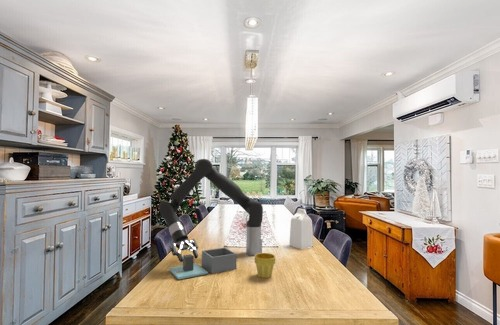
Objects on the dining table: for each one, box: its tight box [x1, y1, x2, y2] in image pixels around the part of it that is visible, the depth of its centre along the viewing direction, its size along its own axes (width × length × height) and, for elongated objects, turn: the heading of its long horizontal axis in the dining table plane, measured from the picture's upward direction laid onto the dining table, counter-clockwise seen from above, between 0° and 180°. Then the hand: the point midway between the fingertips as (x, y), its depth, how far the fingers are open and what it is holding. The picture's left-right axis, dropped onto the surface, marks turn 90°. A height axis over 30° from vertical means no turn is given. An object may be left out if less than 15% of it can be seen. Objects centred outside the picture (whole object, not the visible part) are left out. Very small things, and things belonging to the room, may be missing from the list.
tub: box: [201, 247, 238, 275], centre depth 148 cm, size 14×14×8 cm
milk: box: [289, 208, 314, 250], centre depth 194 cm, size 12×12×26 cm
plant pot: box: [254, 252, 276, 279], centre depth 137 cm, size 10×10×10 cm
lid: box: [168, 253, 209, 280], centre depth 139 cm, size 15×15×9 cm
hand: (189, 259), depth 138 cm, fingers open, 8 cm apart
